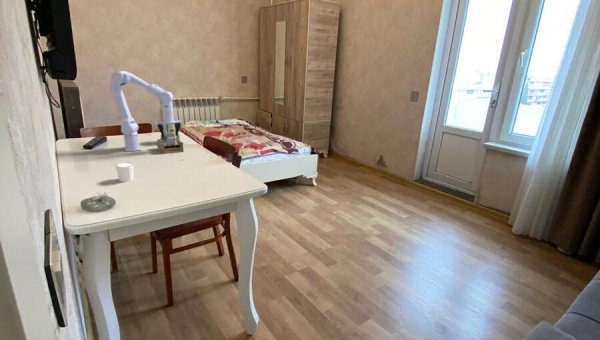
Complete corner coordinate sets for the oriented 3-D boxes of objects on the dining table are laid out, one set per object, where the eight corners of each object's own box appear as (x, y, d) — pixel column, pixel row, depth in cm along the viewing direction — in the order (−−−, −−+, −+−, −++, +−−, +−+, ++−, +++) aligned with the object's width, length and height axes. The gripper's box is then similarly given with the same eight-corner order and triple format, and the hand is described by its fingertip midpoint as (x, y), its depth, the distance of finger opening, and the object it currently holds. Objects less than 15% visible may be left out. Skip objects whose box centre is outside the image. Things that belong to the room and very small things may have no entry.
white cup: (123, 183, 141) (121, 168, 139) (114, 179, 144) (112, 165, 142) (138, 179, 147) (136, 164, 144) (129, 175, 150) (127, 161, 148)
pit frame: (157, 148, 195) (156, 138, 193) (177, 146, 201) (177, 137, 199) (162, 153, 185) (161, 143, 183) (183, 151, 191) (182, 141, 189)
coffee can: (173, 139, 216) (171, 118, 212) (183, 142, 211) (182, 121, 207) (159, 142, 208) (157, 120, 204) (169, 145, 203) (168, 123, 198)
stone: (167, 145, 188) (167, 138, 186) (165, 142, 191) (165, 135, 189) (175, 145, 190) (175, 138, 188) (173, 141, 193) (173, 134, 191)
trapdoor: (159, 139, 194) (159, 134, 192) (174, 138, 198) (174, 133, 197) (163, 146, 187) (163, 142, 186) (179, 145, 192) (179, 140, 191)
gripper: (179, 111, 192) (180, 134, 197) (152, 112, 184) (155, 136, 189) (182, 113, 187) (184, 136, 191) (155, 114, 179) (157, 138, 183)
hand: (169, 136), depth 190 cm, fingers open, 7 cm apart
